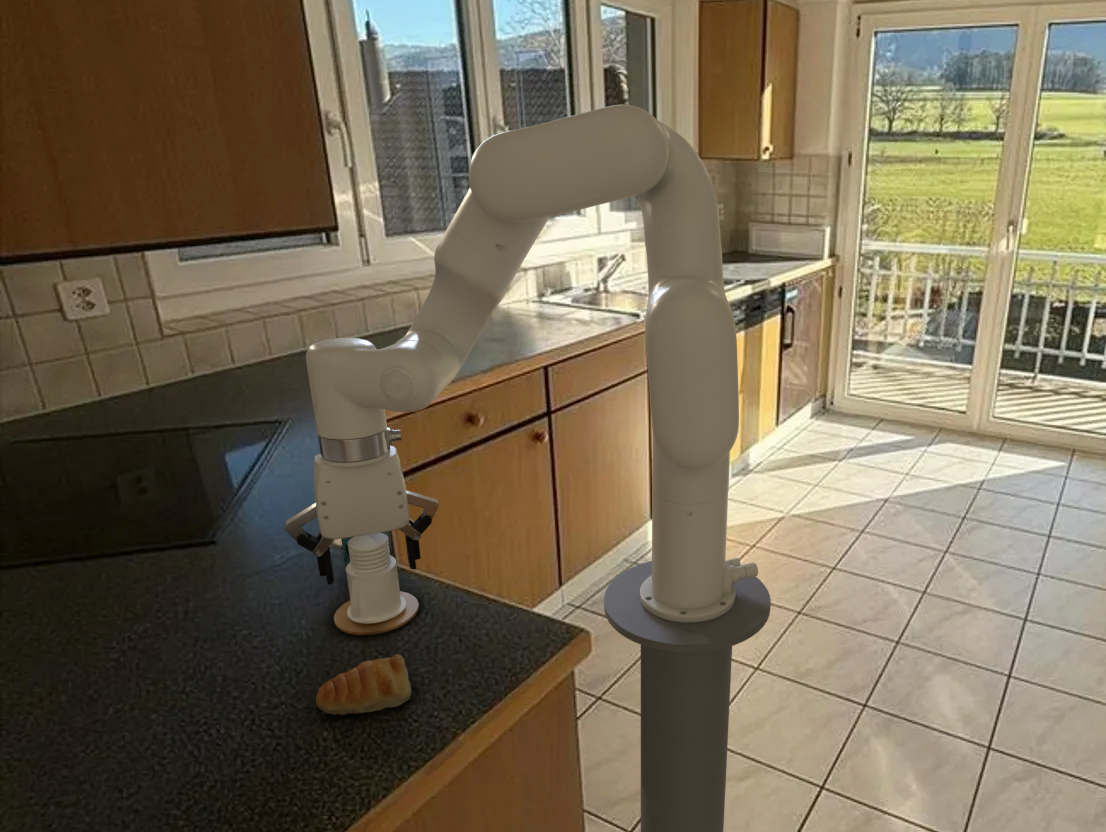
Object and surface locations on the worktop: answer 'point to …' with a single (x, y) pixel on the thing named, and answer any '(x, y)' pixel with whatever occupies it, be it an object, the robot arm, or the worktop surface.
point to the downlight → (372, 580)
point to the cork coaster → (380, 627)
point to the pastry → (366, 687)
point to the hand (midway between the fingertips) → (372, 571)
